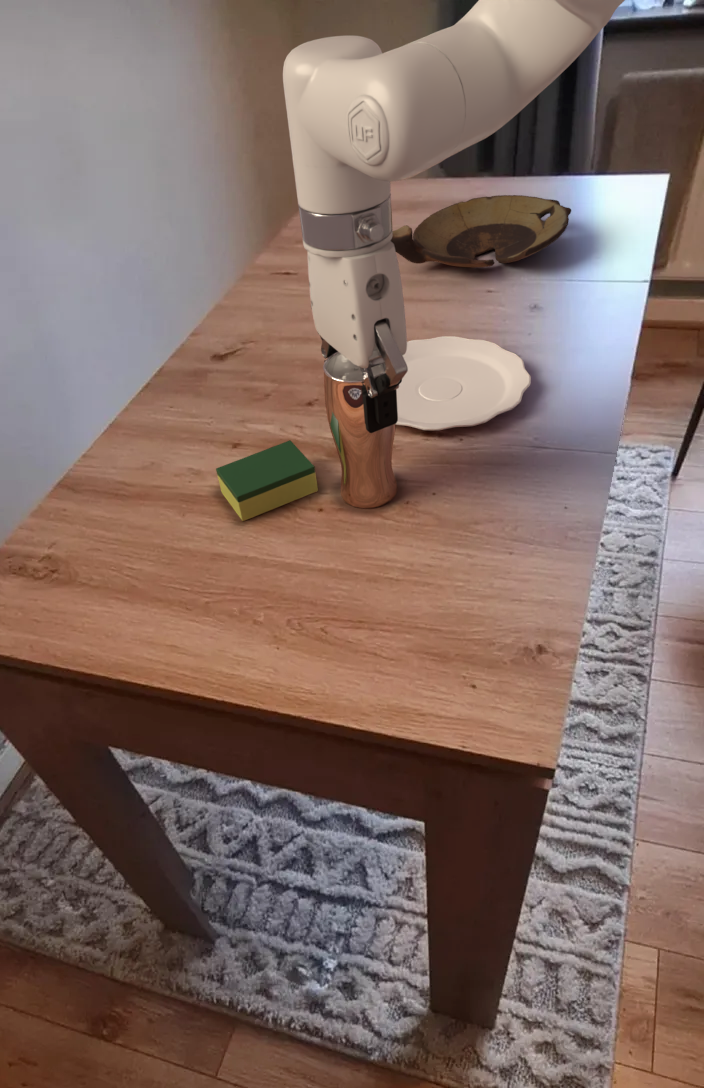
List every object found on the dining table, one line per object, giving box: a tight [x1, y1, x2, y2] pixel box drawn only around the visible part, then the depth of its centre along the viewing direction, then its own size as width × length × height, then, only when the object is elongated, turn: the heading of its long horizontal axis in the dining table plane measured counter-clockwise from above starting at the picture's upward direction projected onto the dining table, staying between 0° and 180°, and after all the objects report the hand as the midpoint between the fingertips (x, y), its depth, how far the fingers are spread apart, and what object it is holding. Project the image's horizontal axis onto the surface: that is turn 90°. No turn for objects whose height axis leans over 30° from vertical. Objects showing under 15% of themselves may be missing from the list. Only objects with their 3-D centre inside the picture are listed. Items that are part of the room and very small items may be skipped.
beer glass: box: [322, 350, 398, 509], centre depth 80 cm, size 7×7×15 cm
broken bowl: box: [390, 194, 572, 268], centre depth 121 cm, size 22×30×8 cm
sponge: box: [215, 439, 319, 522], centre depth 86 cm, size 9×6×3 cm, turn 117°
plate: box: [396, 335, 532, 431], centre depth 97 cm, size 21×21×2 cm
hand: (362, 408), depth 78 cm, fingers closed on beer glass, 7 cm apart
